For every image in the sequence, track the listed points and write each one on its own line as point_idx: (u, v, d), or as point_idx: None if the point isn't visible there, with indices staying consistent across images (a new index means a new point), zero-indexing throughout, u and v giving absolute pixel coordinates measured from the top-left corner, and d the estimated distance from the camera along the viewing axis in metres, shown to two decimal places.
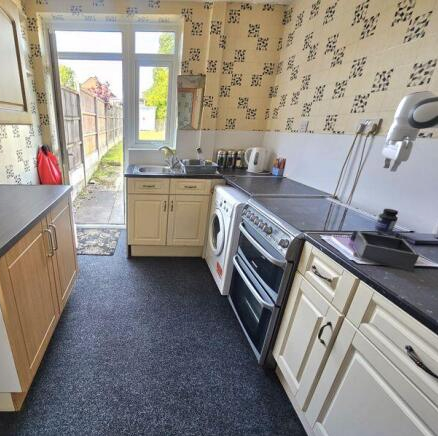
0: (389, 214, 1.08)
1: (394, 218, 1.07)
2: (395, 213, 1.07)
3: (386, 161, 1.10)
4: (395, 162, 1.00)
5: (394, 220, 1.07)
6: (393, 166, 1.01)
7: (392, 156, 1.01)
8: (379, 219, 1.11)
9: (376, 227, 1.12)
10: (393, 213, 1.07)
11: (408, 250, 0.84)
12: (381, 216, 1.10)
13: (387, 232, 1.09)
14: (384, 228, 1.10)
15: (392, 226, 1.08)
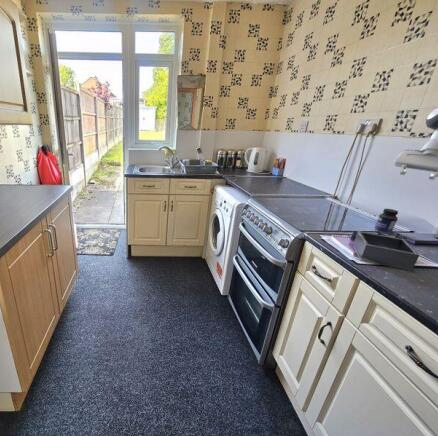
0: (389, 214, 1.08)
1: (394, 218, 1.07)
2: (395, 213, 1.07)
3: None
4: None
5: (394, 220, 1.07)
6: None
7: None
8: (379, 219, 1.11)
9: (376, 227, 1.12)
10: (393, 213, 1.07)
11: (408, 250, 0.84)
12: (381, 216, 1.10)
13: (387, 232, 1.09)
14: (384, 228, 1.10)
15: (392, 226, 1.08)
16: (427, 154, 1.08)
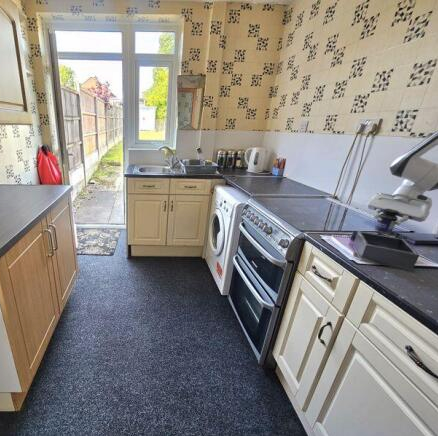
0: (389, 214, 1.08)
1: (394, 218, 1.07)
2: (395, 213, 1.07)
3: None
4: None
5: (394, 220, 1.07)
6: (376, 214, 1.15)
7: None
8: (379, 219, 1.11)
9: (376, 227, 1.12)
10: (393, 213, 1.07)
11: (408, 250, 0.84)
12: (381, 216, 1.10)
13: (387, 232, 1.09)
14: (384, 228, 1.10)
15: (392, 226, 1.08)
16: (397, 200, 1.10)
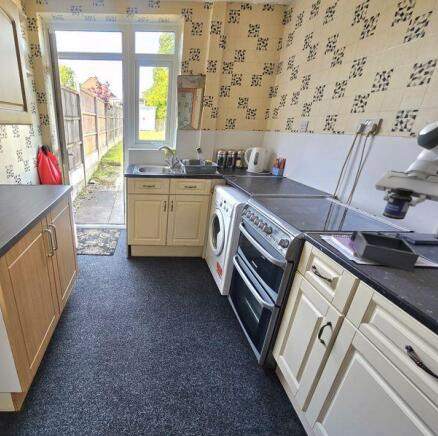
0: (403, 194, 0.89)
1: (408, 198, 0.89)
2: (410, 192, 0.88)
3: None
4: None
5: (408, 201, 0.89)
6: None
7: None
8: (390, 200, 0.92)
9: (386, 210, 0.94)
10: (407, 192, 0.88)
11: (408, 250, 0.84)
12: (392, 197, 0.91)
13: (400, 216, 0.91)
14: (396, 211, 0.91)
15: (406, 208, 0.90)
16: (412, 177, 0.91)
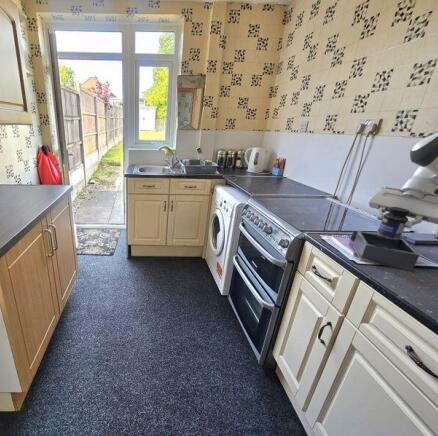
0: (397, 214, 0.82)
1: (404, 219, 0.82)
2: (405, 213, 0.81)
3: None
4: None
5: (404, 222, 0.82)
6: None
7: None
8: (384, 220, 0.85)
9: (380, 231, 0.87)
10: (402, 213, 0.81)
11: (408, 250, 0.84)
12: (386, 217, 0.85)
13: (394, 237, 0.84)
14: (390, 232, 0.84)
15: (401, 230, 0.83)
16: (407, 195, 0.85)
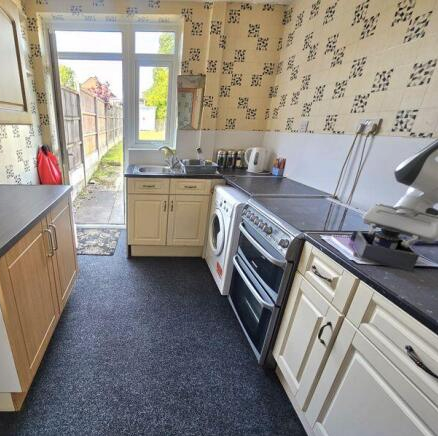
0: (389, 234, 0.85)
1: (395, 239, 0.84)
2: (396, 233, 0.84)
3: None
4: None
5: (395, 242, 0.85)
6: None
7: None
8: (376, 240, 0.88)
9: None
10: (393, 233, 0.84)
11: (408, 250, 0.84)
12: (378, 236, 0.87)
13: None
14: None
15: None
16: (400, 213, 0.87)
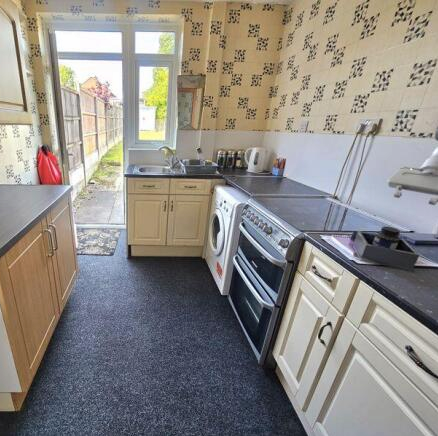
0: (389, 234, 0.85)
1: (395, 239, 0.84)
2: (396, 233, 0.84)
3: None
4: None
5: (395, 242, 0.85)
6: None
7: None
8: (376, 240, 0.88)
9: None
10: (394, 233, 0.84)
11: (408, 250, 0.84)
12: (378, 236, 0.87)
13: None
14: None
15: None
16: (427, 173, 0.88)
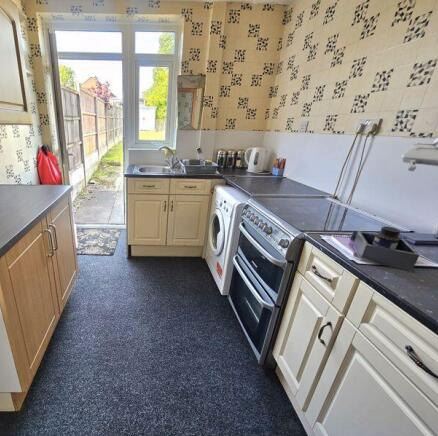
0: (389, 234, 0.85)
1: (395, 239, 0.84)
2: (396, 233, 0.84)
3: None
4: None
5: (395, 242, 0.85)
6: None
7: None
8: (376, 240, 0.88)
9: None
10: (394, 233, 0.84)
11: (408, 250, 0.84)
12: (378, 236, 0.87)
13: None
14: None
15: None
16: None
